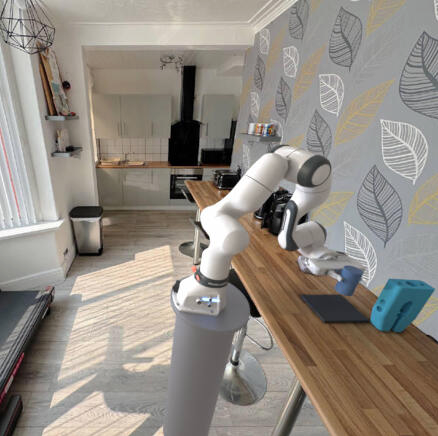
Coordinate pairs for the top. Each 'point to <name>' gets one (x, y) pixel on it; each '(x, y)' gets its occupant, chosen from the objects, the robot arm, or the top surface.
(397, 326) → the block
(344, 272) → the cylinder block
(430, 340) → the top surface
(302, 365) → the top surface
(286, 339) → the top surface
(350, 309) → the mat
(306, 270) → the stone block
